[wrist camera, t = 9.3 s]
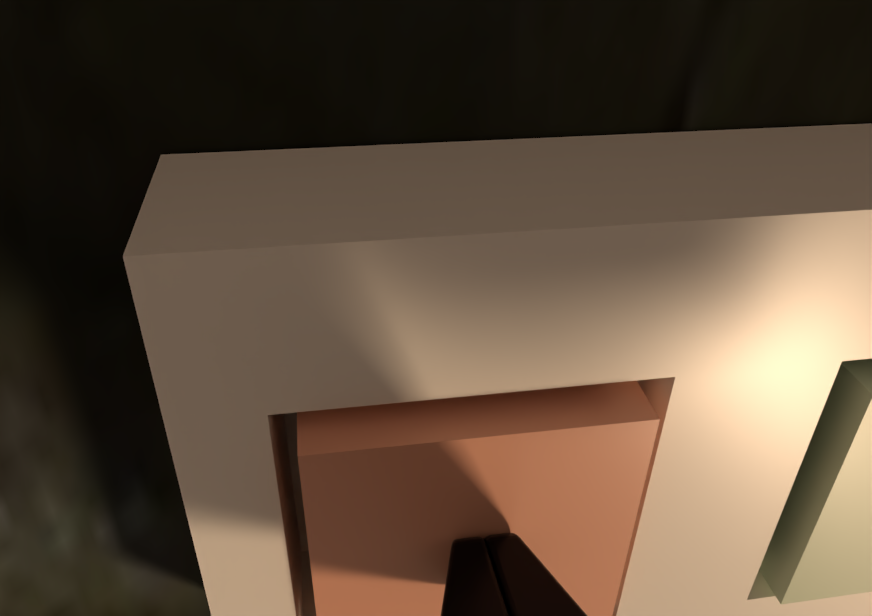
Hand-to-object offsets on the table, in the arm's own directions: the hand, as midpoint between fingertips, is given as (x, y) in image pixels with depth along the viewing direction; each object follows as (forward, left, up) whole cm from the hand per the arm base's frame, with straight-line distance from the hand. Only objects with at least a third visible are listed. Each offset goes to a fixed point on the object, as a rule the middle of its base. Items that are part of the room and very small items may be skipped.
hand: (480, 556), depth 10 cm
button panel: (-7, 0, -3) cm, 7 cm away
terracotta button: (0, 0, -2) cm, 2 cm away
